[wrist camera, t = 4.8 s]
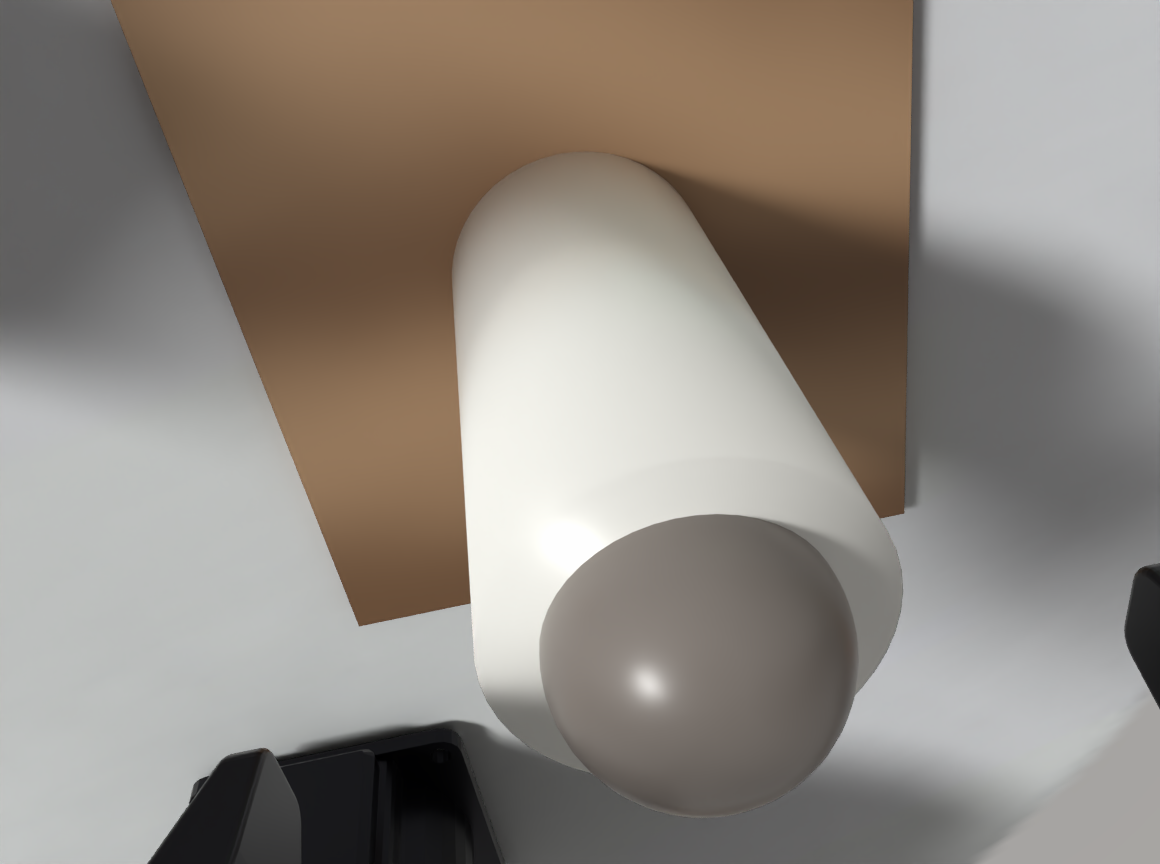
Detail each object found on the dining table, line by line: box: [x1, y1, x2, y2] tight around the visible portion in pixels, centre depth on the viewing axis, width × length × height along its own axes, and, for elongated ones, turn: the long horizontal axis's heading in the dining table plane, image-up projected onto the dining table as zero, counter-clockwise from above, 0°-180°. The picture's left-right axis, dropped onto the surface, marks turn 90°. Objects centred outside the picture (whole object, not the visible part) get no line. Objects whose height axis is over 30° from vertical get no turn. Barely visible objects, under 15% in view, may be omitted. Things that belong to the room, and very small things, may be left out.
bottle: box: [452, 152, 903, 818], centre depth 13 cm, size 4×4×11 cm
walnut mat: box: [111, 0, 913, 626], centre depth 18 cm, size 14×12×1 cm
